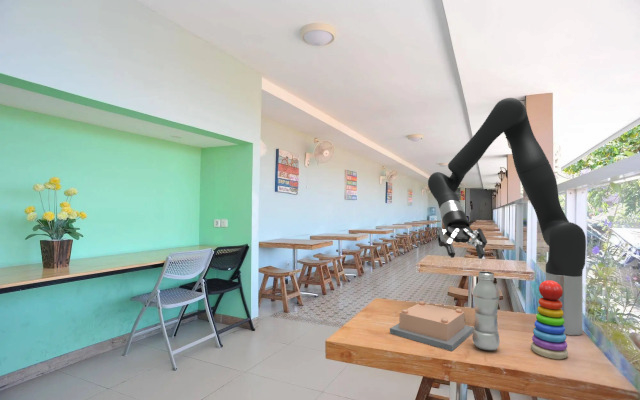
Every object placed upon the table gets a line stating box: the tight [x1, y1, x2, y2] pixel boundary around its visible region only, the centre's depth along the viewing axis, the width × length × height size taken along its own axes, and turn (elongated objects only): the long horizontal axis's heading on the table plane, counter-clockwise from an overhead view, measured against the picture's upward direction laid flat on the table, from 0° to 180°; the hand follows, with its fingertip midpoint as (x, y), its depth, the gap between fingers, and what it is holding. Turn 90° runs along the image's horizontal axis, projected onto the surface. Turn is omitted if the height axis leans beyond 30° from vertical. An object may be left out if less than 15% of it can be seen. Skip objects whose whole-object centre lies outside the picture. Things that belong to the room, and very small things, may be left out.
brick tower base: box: [389, 300, 474, 352], centre depth 100 cm, size 18×18×7 cm
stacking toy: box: [530, 280, 569, 360], centre depth 87 cm, size 8×8×19 cm
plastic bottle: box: [471, 270, 501, 352], centre depth 90 cm, size 6×7×20 cm
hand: (467, 256), depth 101 cm, fingers open, 8 cm apart
